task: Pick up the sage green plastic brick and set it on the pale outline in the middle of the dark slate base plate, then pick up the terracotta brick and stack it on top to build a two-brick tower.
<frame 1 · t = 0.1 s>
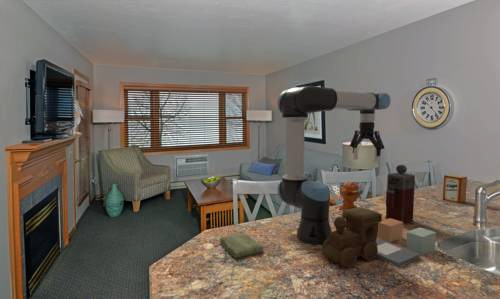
hand: (365, 160, 157), 28 cm above the counter, tool pointing down, fingers open, 13 cm apart
toy vending machine: (397, 220, 143), on the counter
wooden toy train: (350, 258, 104), on the counter
washcloth: (240, 248, 114), on the counter
baking soda box: (453, 201, 177), on the counter
sage brick: (420, 249, 111), on the counter
orange lumpy rounded piece: (349, 214, 153), on the counter
base plate: (386, 252, 108), on the counter
terracotta brick: (389, 237, 122), on the counter
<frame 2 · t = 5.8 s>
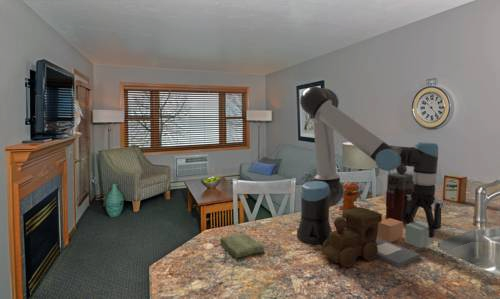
hand: (419, 241, 111), 3 cm above the counter, tool pointing down, fingers closed on sage brick, 6 cm apart
sage brick: (419, 242, 111), point 3 cm above the counter, touching gripper
everything else where it was.
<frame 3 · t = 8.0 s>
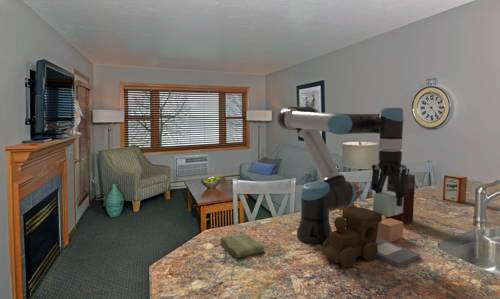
hand: (388, 211, 107), 16 cm above the counter, tool pointing down, fingers closed on sage brick, 6 cm apart
sage brick: (387, 212, 107), point 16 cm above the counter, touching gripper
everything else where it was.
when the fingers open (3 cm above the counter, at t = 10.2 s): sage brick stays where it is, resting on base plate.
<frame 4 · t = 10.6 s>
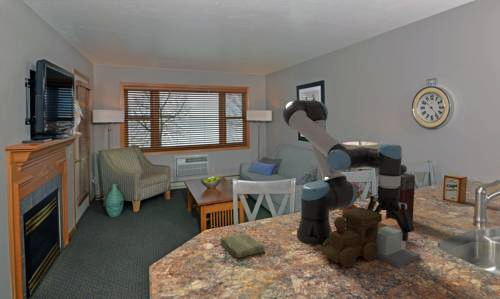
hand: (386, 242, 108), 4 cm above the counter, tool pointing down, fingers open, 11 cm apart
sage brick: (386, 248, 108), point 2 cm above the counter, touching base plate
everything else where it was.
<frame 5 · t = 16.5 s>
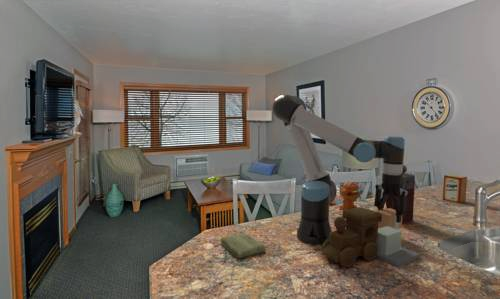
hand: (388, 226, 122), 5 cm above the counter, tool pointing down, fingers closed on terracotta brick, 6 cm apart
terracotta brick: (388, 227, 122), point 4 cm above the counter, touching gripper
everything else where it was.
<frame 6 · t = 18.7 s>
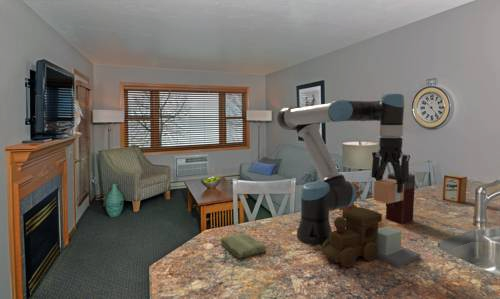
hand: (388, 198, 106), 21 cm above the counter, tool pointing down, fingers closed on terracotta brick, 6 cm apart
terracotta brick: (388, 199, 107), point 20 cm above the counter, touching gripper
everything else where it was.
when the fingers open (10 cm above the counter, at t = 21.0 s): terracotta brick stays where it is, resting on sage brick.
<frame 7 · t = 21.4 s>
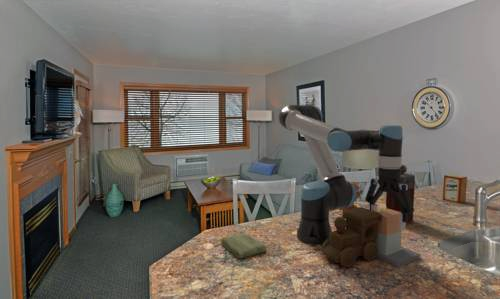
hand: (387, 225, 107), 11 cm above the counter, tool pointing down, fingers open, 11 cm apart
sage brick: (386, 248, 108), point 2 cm above the counter, touching base plate, terracotta brick
terracotta brick: (387, 230, 108), point 9 cm above the counter, touching sage brick
everything else where it was.
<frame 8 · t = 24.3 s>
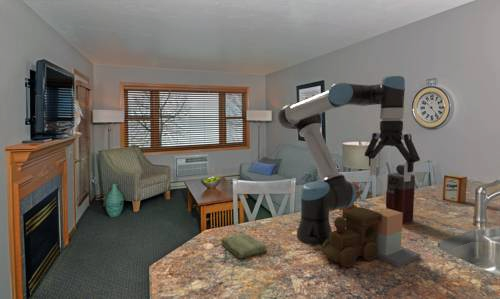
hand: (389, 178, 106), 29 cm above the counter, tool pointing down, fingers open, 13 cm apart
at the end: sage brick inside the target area on the base plate (0.1 cm from its centre), point 1.5 cm above the base plate's base; terracotta brick 0.1 cm off-centre on the sage brick, point 7.0 cm above the sage brick's base; terracotta brick tilted 0° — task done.
